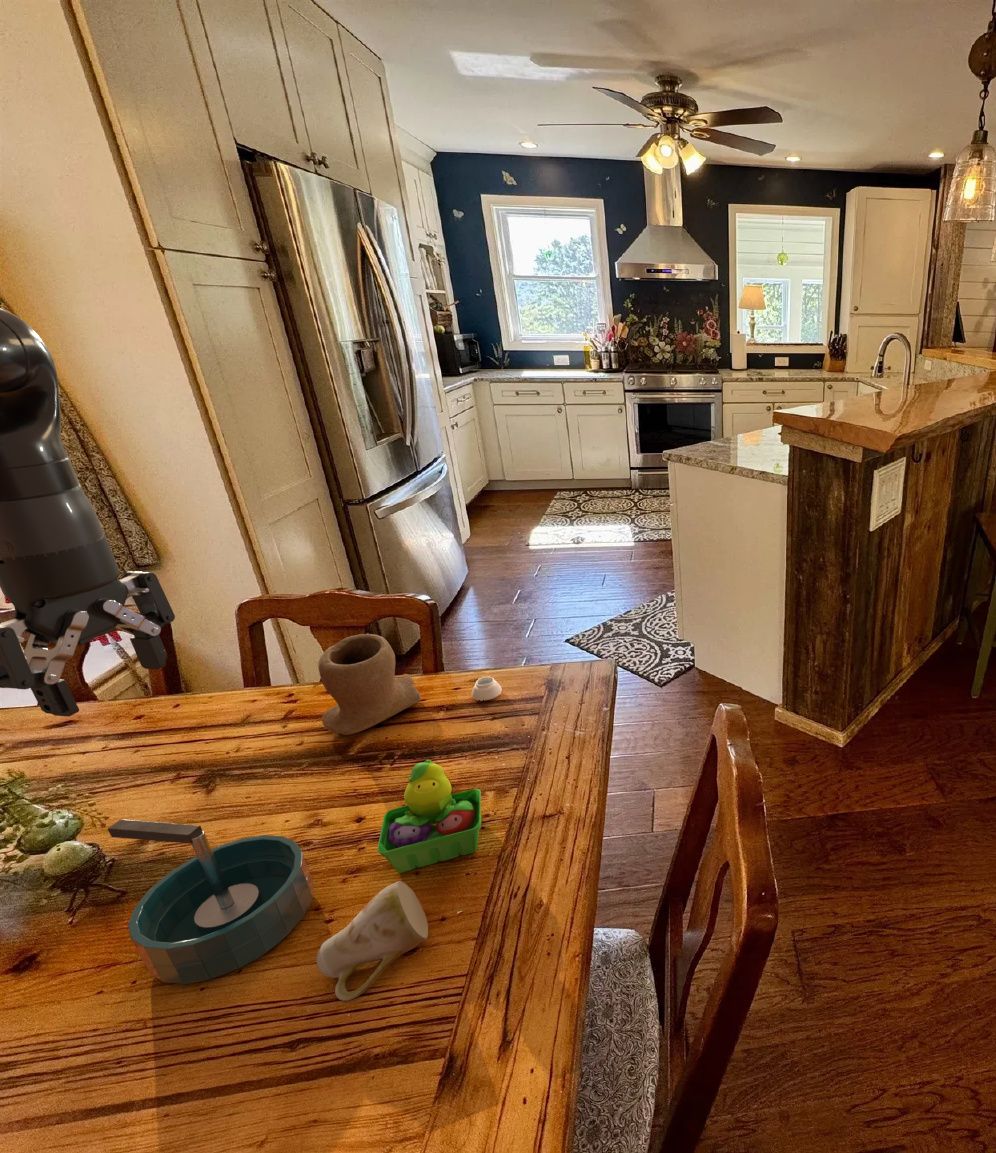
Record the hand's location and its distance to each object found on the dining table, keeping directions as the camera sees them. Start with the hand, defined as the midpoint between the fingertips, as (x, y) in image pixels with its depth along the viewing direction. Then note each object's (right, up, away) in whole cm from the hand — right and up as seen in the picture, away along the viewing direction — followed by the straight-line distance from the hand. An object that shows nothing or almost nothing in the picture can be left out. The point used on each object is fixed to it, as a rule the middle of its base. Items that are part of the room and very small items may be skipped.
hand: (113, 689), depth 62 cm
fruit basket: (+24, -24, +18) cm, 38 cm away
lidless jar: (+15, -10, +50) cm, 53 cm away
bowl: (+7, -28, +7) cm, 29 cm away
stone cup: (0, -13, +43) cm, 45 cm away
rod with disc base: (+4, -27, +7) cm, 28 cm away
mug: (+25, -30, +4) cm, 39 cm away
